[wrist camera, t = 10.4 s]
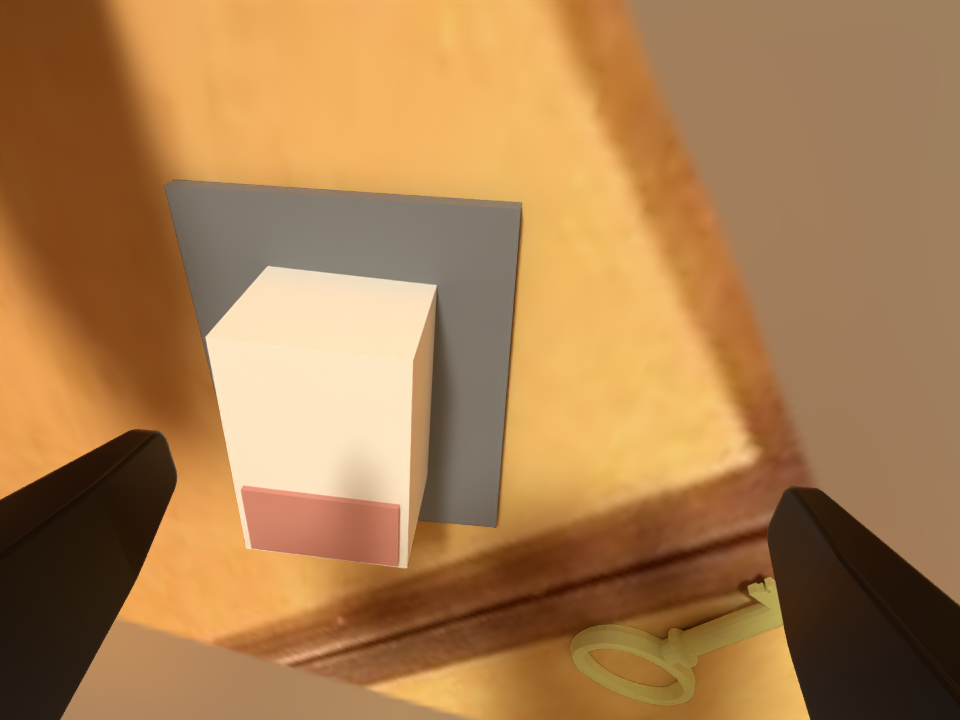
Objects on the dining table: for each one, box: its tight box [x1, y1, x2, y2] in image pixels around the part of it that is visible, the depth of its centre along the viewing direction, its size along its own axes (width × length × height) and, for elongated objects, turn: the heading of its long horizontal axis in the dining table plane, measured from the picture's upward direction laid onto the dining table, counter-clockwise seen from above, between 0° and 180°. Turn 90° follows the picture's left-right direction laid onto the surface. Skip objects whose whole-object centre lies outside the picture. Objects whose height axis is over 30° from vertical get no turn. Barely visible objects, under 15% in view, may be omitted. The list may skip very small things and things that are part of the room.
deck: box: [205, 266, 437, 568], centre depth 21 cm, size 6×9×5 cm, turn 175°
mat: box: [164, 180, 521, 528], centre depth 23 cm, size 14×11×1 cm
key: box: [570, 577, 783, 706], centre depth 29 cm, size 7×12×2 cm, turn 159°
